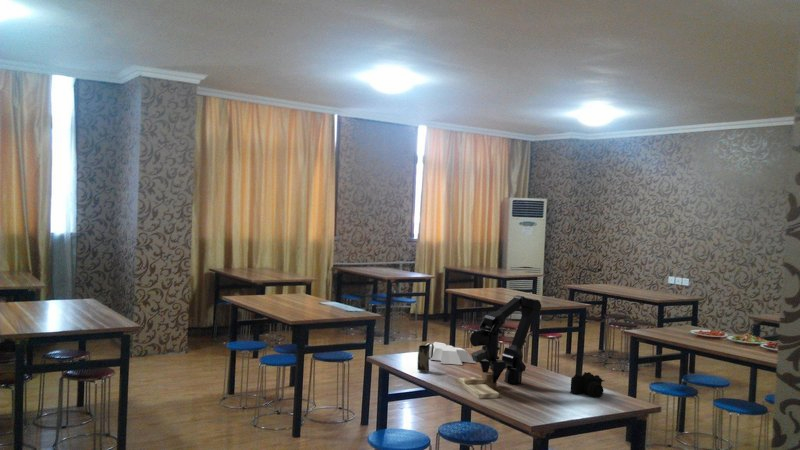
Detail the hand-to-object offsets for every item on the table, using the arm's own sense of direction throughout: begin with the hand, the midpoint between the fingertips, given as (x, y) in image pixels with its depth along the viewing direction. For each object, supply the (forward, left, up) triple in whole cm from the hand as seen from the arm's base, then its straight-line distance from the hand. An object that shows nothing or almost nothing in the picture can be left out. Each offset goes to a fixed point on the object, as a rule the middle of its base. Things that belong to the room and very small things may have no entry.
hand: (489, 380), depth 273 cm
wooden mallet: (0, 0, -3) cm, 3 cm away
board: (+8, +3, -3) cm, 9 cm away
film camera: (-38, +18, -3) cm, 42 cm away
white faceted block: (-1, -56, -4) cm, 56 cm away
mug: (+18, -32, -3) cm, 37 cm away
